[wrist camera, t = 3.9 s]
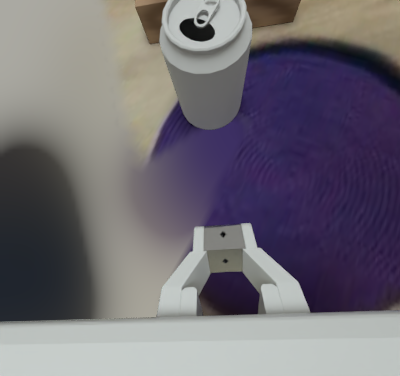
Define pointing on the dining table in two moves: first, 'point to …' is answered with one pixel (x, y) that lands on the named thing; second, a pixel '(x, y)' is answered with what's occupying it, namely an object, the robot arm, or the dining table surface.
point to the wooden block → (255, 6)
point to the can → (207, 57)
